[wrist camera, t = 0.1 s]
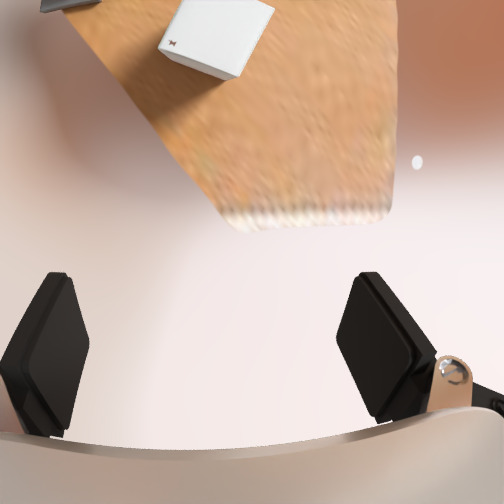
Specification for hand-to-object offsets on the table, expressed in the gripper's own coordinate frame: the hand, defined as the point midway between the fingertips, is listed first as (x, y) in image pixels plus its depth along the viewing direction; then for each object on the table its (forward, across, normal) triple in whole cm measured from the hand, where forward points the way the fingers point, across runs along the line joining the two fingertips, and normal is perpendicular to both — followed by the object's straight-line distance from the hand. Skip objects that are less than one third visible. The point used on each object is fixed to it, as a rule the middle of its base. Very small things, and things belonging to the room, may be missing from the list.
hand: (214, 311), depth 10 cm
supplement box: (+31, 0, -12) cm, 34 cm away
